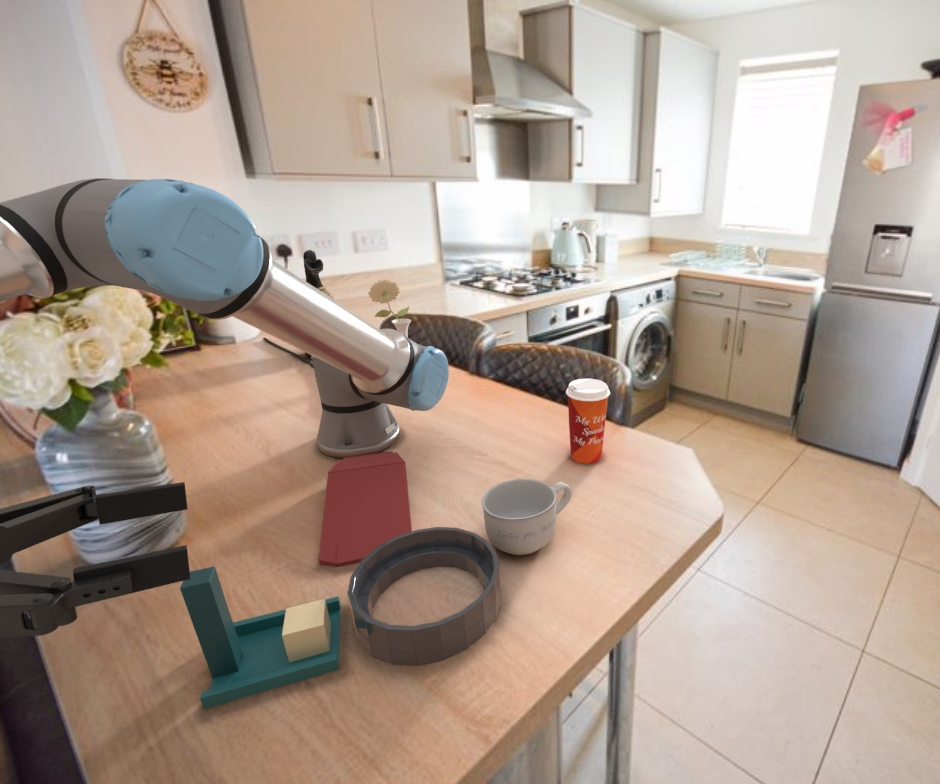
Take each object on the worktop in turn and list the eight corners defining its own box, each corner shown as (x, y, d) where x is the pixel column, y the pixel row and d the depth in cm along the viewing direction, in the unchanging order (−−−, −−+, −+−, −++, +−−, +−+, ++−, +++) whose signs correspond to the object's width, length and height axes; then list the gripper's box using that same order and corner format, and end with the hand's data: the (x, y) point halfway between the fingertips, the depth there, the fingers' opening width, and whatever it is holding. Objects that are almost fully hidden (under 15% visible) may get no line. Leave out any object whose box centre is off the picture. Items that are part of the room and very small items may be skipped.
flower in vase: (428, 360, 150) (419, 274, 140) (428, 374, 140) (418, 282, 130) (380, 364, 146) (368, 275, 137) (377, 377, 136) (363, 283, 127)
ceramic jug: (357, 357, 151) (341, 253, 140) (299, 366, 143) (277, 256, 131) (345, 342, 164) (330, 246, 152) (291, 350, 156) (270, 248, 144)
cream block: (289, 662, 56) (281, 635, 54) (292, 634, 59) (285, 608, 57) (329, 651, 57) (323, 624, 55) (331, 624, 60) (325, 598, 59)
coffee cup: (576, 470, 95) (578, 396, 89) (558, 451, 102) (558, 381, 96) (615, 461, 99) (619, 389, 93) (595, 442, 106) (597, 374, 100)
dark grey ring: (328, 616, 62) (319, 578, 60) (444, 545, 75) (440, 511, 73) (411, 700, 53) (405, 658, 50) (528, 602, 65) (527, 565, 63)
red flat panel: (416, 571, 75) (406, 466, 95) (412, 548, 72) (403, 444, 92) (324, 591, 71) (334, 476, 91) (317, 567, 68) (329, 454, 88)
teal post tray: (205, 714, 51) (168, 616, 46) (226, 640, 59) (195, 549, 54) (340, 674, 55) (318, 580, 50) (341, 610, 63) (323, 523, 58)
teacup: (494, 574, 70) (491, 526, 67) (477, 527, 79) (474, 483, 76) (587, 548, 75) (589, 503, 72) (561, 508, 84) (561, 466, 81)
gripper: (-123, 560, 44) (188, 506, 57) (-348, 809, 25) (195, 644, 38) (-145, 479, 42) (181, 443, 55) (-406, 682, 23) (184, 554, 36)
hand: (187, 525), depth 47 cm, fingers open, 13 cm apart
